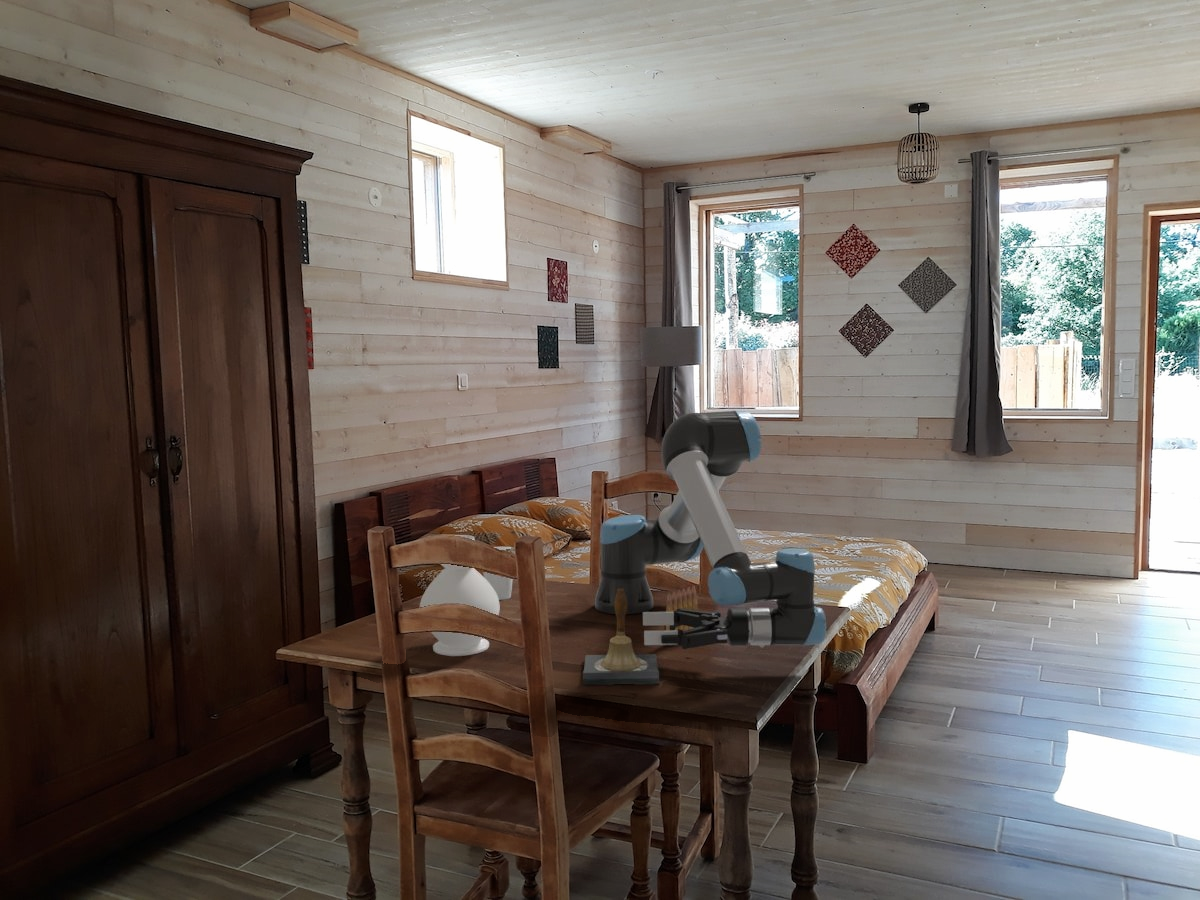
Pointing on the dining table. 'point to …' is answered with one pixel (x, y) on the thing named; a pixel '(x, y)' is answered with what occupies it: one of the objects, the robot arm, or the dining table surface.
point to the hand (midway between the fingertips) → (643, 628)
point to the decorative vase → (461, 589)
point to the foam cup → (500, 582)
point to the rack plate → (620, 672)
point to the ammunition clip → (681, 605)
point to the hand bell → (620, 641)
